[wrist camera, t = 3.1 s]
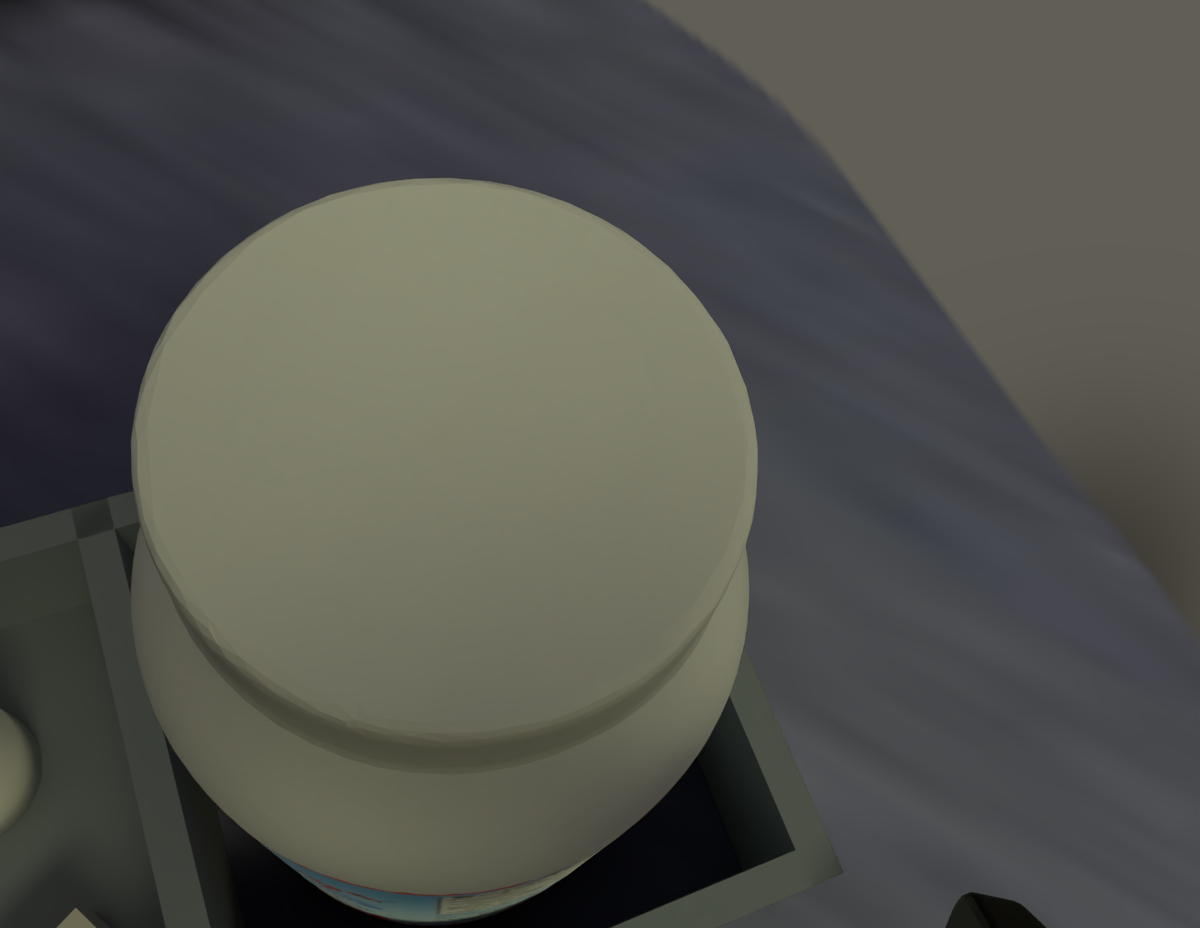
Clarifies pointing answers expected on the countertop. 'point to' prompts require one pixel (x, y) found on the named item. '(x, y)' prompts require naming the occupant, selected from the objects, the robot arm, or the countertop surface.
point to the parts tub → (183, 809)
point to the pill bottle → (440, 540)
